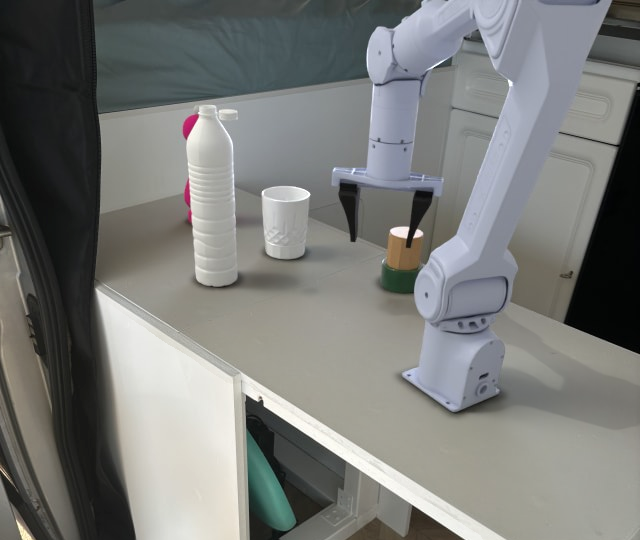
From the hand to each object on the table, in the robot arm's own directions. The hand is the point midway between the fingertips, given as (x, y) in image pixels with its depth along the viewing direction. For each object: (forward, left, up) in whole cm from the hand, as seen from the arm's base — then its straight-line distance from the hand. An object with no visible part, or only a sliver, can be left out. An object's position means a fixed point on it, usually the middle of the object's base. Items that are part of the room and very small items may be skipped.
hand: (381, 242), depth 91 cm
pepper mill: (+45, +5, -10) cm, 46 cm away
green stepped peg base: (+5, -9, -10) cm, 14 cm away
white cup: (+25, 0, -10) cm, 27 cm away
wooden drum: (+5, -9, -7) cm, 12 cm away
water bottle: (+20, +15, -10) cm, 27 cm away
